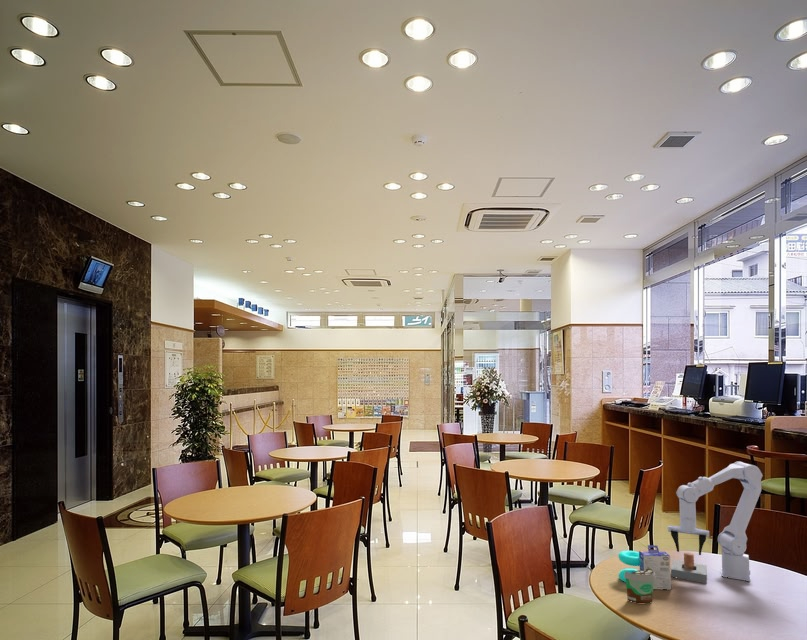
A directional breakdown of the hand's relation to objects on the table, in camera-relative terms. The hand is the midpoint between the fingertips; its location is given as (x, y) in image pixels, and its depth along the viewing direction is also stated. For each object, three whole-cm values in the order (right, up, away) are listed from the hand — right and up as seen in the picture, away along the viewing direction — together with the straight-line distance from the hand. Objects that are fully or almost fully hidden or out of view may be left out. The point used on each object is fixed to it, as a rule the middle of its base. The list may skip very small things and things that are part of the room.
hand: (688, 552), depth 222 cm
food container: (-29, -6, -26) cm, 39 cm away
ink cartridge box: (-19, -8, -13) cm, 24 cm away
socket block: (0, -9, -1) cm, 9 cm away
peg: (0, -9, -1) cm, 9 cm away
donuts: (-25, -8, -7) cm, 27 cm away
